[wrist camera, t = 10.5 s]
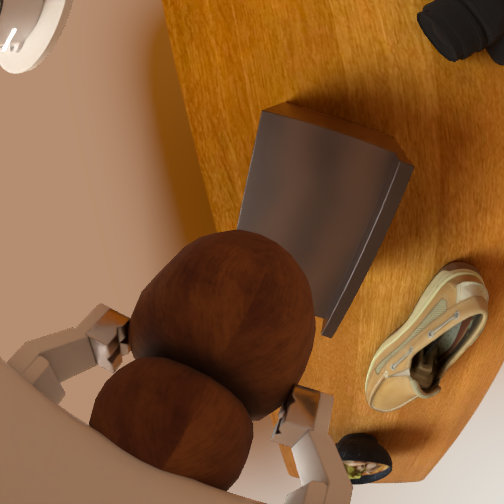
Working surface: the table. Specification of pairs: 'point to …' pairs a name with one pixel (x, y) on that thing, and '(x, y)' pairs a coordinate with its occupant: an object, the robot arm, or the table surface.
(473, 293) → the boat shoe
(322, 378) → the table surface
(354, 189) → the display shelf
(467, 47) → the film camera
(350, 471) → the bowl
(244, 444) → the wooden figurine
